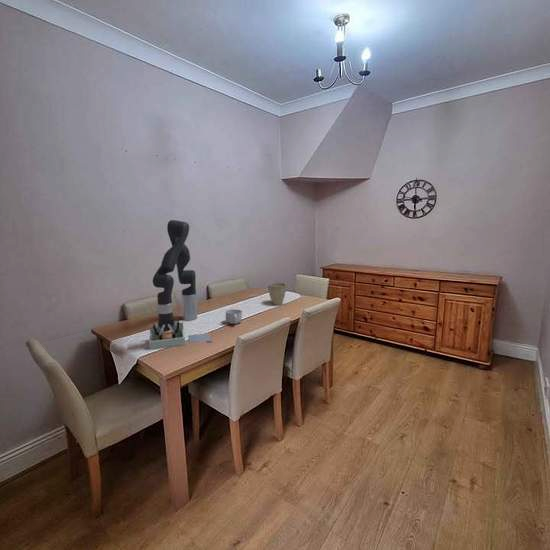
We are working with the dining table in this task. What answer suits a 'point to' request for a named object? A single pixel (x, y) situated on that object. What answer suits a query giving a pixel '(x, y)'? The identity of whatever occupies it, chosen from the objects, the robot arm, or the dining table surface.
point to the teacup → (233, 316)
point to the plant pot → (277, 292)
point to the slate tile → (199, 338)
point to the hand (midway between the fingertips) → (167, 340)
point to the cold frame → (157, 343)
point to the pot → (167, 334)
